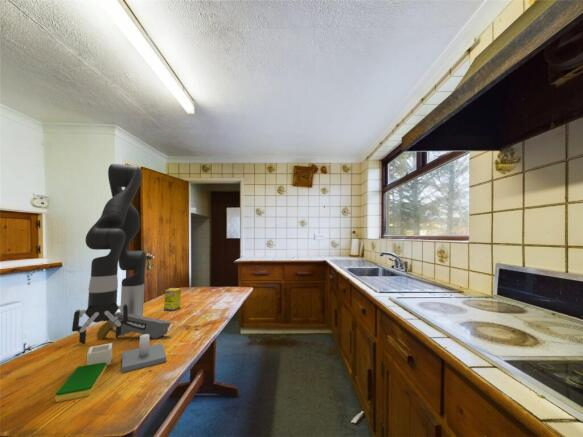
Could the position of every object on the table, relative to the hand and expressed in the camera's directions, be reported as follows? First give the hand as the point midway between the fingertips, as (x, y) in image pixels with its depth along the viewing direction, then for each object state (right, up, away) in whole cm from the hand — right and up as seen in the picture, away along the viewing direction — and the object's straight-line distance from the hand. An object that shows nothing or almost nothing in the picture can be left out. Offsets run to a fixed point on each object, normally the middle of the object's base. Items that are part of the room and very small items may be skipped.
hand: (100, 340), depth 80 cm
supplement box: (-4, -11, +57) cm, 58 cm away
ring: (0, -7, 0) cm, 7 cm away
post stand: (+13, -7, +2) cm, 15 cm away
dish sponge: (+4, -7, -11) cm, 14 cm away
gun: (-2, -9, +19) cm, 21 cm away
